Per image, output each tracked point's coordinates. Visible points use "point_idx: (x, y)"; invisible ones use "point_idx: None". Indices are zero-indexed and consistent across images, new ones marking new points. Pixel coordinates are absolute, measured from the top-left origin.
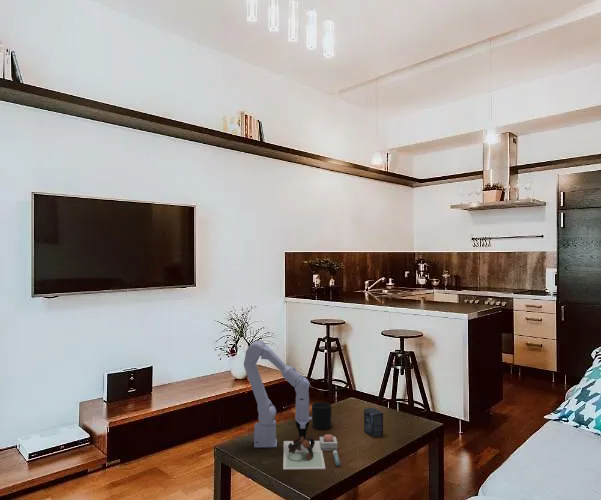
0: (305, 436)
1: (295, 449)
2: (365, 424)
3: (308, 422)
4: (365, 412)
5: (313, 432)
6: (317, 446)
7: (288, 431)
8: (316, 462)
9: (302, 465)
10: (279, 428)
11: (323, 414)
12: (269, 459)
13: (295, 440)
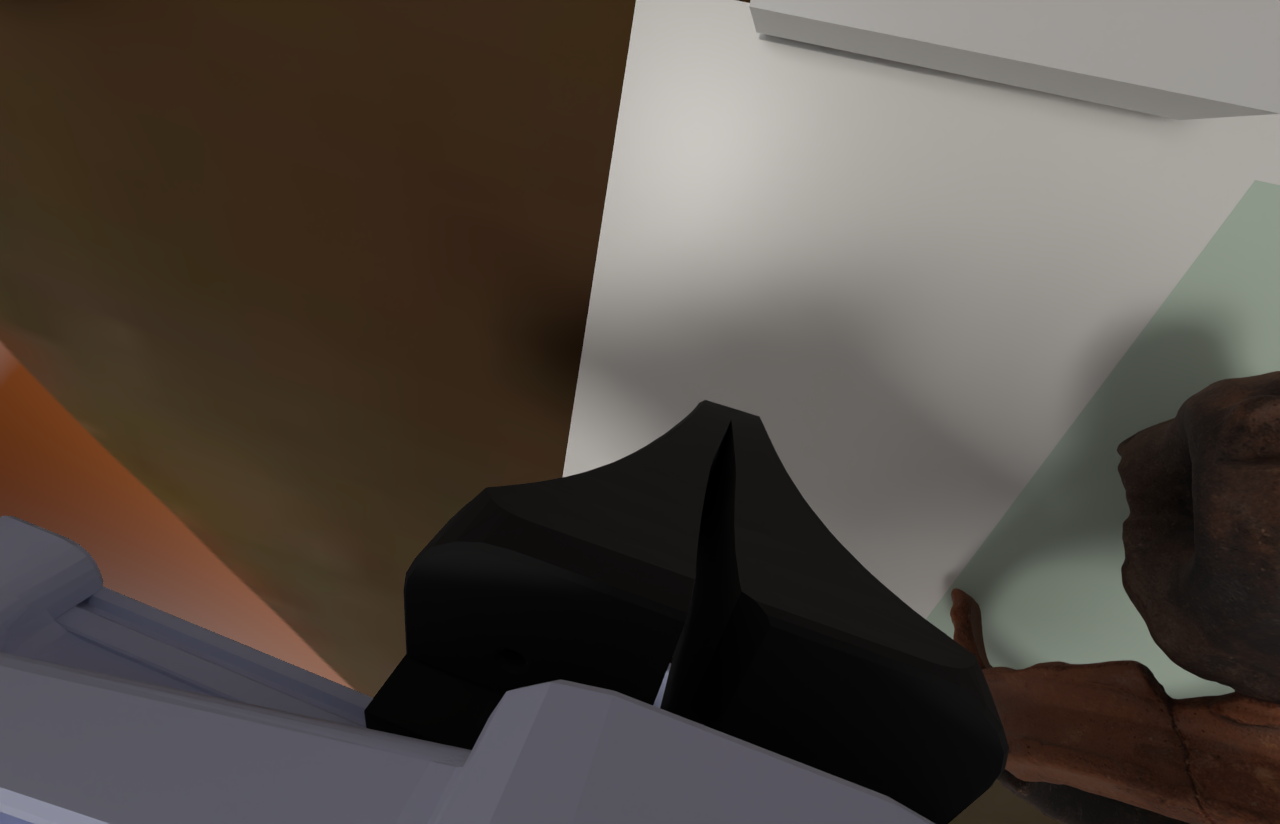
0: (772, 444)
1: (969, 607)
2: None
3: (679, 627)
4: None
5: (224, 27)
6: (916, 148)
7: (256, 406)
8: None
9: None
10: (195, 466)
11: None
12: (964, 811)
13: (1052, 772)
